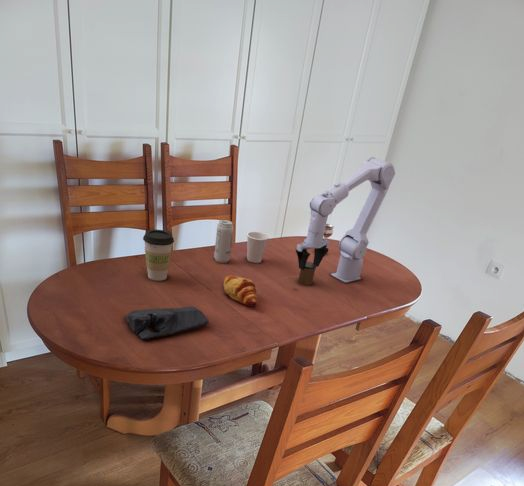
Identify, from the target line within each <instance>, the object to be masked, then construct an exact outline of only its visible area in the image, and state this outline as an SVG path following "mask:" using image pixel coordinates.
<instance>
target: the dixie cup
mask: <svg viewBox="0 0 524 486" xmlns="http://www.w3.org/2000/svg"><path fill="white" fill-rule="evenodd" d="M246 236H247V238H246V239H247V244H246V245H247V246H246V247H247V248H246V260H247V261H248V262H250V263H255V264H259V263H261V262H262V259H263V257H264V253H265V249H266V246H267V242H268V240H269V235H267V234H266V233H263V232H260V231H249V232H247V234H246Z"/></svg>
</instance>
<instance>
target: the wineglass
mask: <svg viewBox="0 0 524 486" xmlns="http://www.w3.org/2000/svg"><path fill="white" fill-rule="evenodd" d="M334 228H335V226H334V225H332V224H329V223H326V227H325V232H324V236H323V240H326V239H328V238H331V236H332V235H333V234H334Z"/></svg>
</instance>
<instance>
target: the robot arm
mask: <svg viewBox="0 0 524 486" xmlns="http://www.w3.org/2000/svg"><path fill="white" fill-rule="evenodd" d="M395 176H396V170H395V166H394V165H393V163H390V162H387V161H384V160H381V159H379V158H377V157H374V156H371V157H369V158H368V159H366V160H365V161H363V162H362V164H361V167H360V168H359V169H358V170H356V171H355V172H354V173H353V174H352V175H351V176H349V177H348V178H347V179H346V180H345V181H344V182H341V181H338V182H335V183H334V184H333V186H331V187H330V188H329V189H327V190H326V191H324V192H323V193H322V194H316V195H314V197H312V199H311V201H310V202H309V209H310V213H309V214H310V218H309V224H308V229H307V235H306V238H304V240H303V242H300V243H297V244H296V247H295V254H296V256H297V260H298V269H300V270H301V269H302V270H304V268H305V265H306V262H308V259H309V257H311V252H309V251H308V250H313V249H314V250H313V251H314V254H313V261H312V263H314V264H315V265H316V268H318V267H320V264H321V262H322V260H323V259H324V257H325V256H326V255H327V254H328V252H329V248H328V247H329V246H330V240H329V241H328V240H327V239H324V240H323V236H324V232H325V227H326V224H328V223H327V222H328V218H329V215H331V214H332V213H333V211H334V209H335V208H336V207H337V205H339V204H340V203H341V202H343V201H344V200H345V199H347V198H348V197H349V195H350V194H349V193H350V191H352V190H354V189H356V188H357V187H358V186H360V185H361V184H363V183H365V182H367V181H369V183H370V187H371V189H370V192H369V194H368V196H367V198H366V200H365V202H364V204H363V206H362V208H361V211H360V212H359V214H358V217H357V219H356V221H355V223H354V224H353V227H352V228H351V229H349V230H346V231H345V233H344V235H343V236H342V237H341V239H340V240H339V242H338V249H339V250H340V251H339V253H340V255H339V258H338V259H339V260H338V264H337V268H336V272H332V273H330V275H331V276H332V277H334V278H336V279H338V280H340V281H342V282H343V283H345V284H346V283H351V282H355V281H359V280H361V279H362V277H360V276H361V273H362V268H363V265H364V259H363V258H364V256H365V255H366V253H367V247H368V245H369V243H370V242H369V239H368V237H367V233H368V231H370V227H371V225H372V224H373V222H374V220H375V217H376V216H377V213H378V211H379V210H380V207H381V205H382V203H383V201H384V199H385V197H386V195H387V193H388V192H389V190H390V189H389V188H390V185H391V184H392V181H393V179H394V178H395Z"/></svg>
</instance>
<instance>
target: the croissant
mask: <svg viewBox="0 0 524 486" xmlns="http://www.w3.org/2000/svg"><path fill="white" fill-rule="evenodd" d="M223 289H224V294H225V295H227V296H229V297H230V299H232V300H233V301H236V302H239V303H241V304H242V305H244V306H247V307H255V306H257V305H258V296H257V289H256V284H255V283H254V282H253V280H251V279H248V278H245V277H240V276H237V275H232V274H230V275H227V276H225V277H224V280H223Z"/></svg>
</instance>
